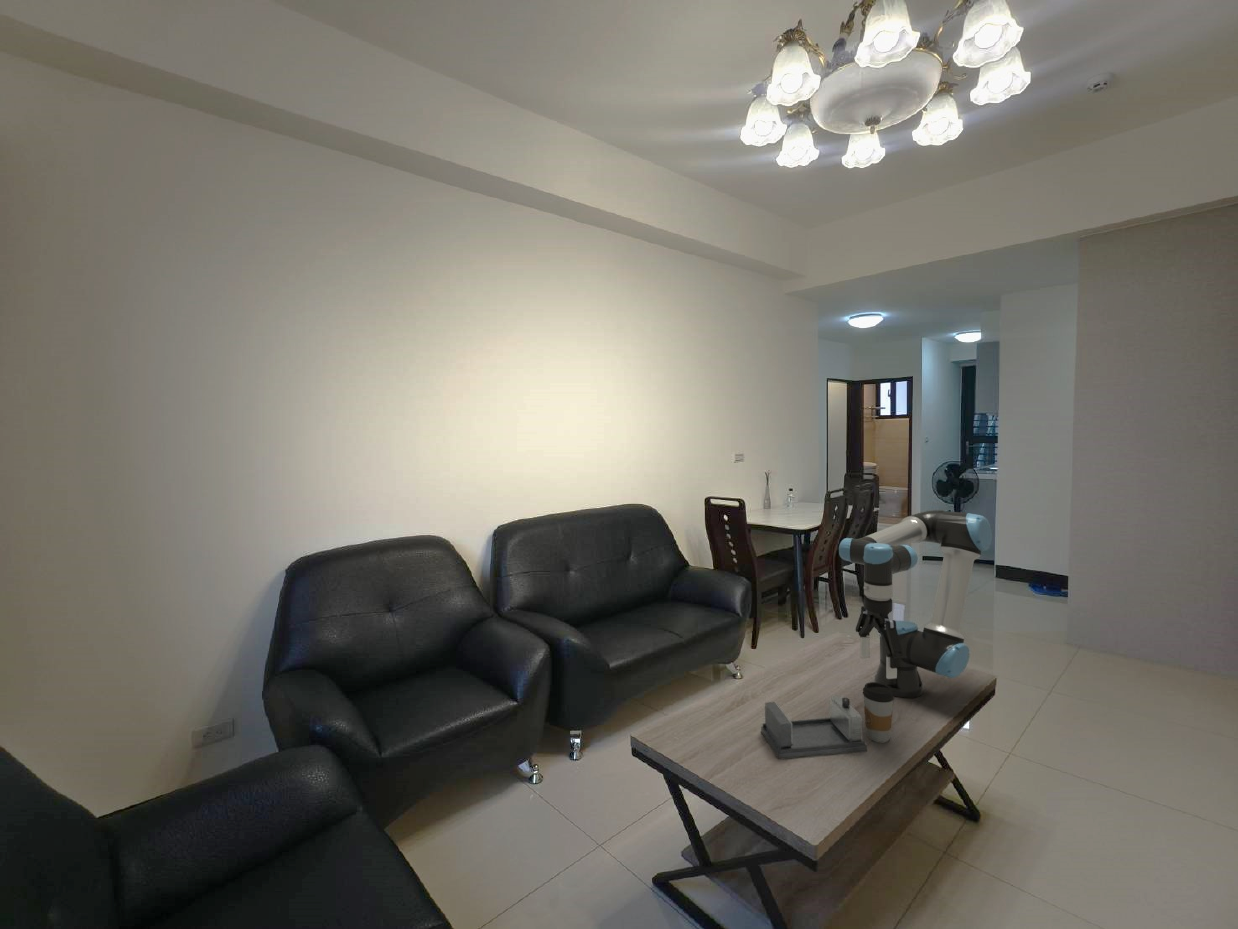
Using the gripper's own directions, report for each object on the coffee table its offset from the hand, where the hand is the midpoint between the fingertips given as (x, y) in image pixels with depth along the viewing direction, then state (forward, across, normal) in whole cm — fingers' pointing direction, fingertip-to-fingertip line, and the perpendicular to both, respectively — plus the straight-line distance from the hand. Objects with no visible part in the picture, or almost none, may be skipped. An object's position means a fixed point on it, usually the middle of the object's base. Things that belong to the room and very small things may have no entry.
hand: (877, 667), depth 159 cm
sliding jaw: (+19, -1, -10) cm, 22 cm away
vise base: (+21, -1, -20) cm, 29 cm away
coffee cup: (+21, 0, 0) cm, 21 cm away
